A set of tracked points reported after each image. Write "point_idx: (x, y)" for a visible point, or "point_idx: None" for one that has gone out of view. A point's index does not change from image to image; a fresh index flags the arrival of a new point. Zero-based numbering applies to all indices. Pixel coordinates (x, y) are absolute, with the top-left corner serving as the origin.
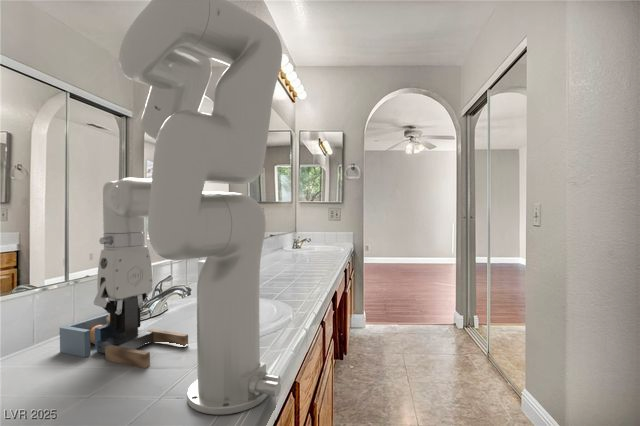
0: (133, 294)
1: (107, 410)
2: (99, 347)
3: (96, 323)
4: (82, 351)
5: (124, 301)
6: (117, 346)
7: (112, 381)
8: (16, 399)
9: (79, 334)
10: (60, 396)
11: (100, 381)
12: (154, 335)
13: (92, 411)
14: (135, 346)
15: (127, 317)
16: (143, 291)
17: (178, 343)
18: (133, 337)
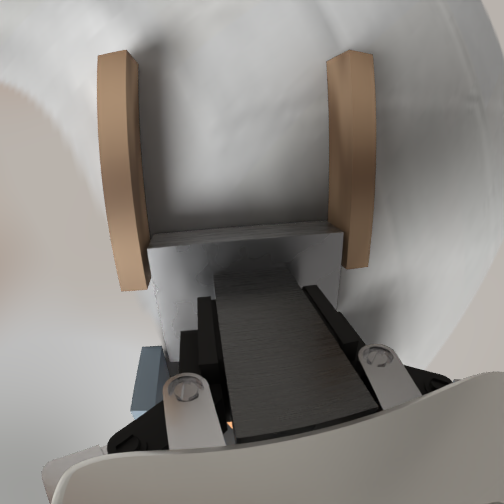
0: (366, 427)
1: (481, 31)
2: None
3: None
4: None
5: (375, 402)
6: (351, 229)
7: (431, 99)
8: (500, 228)
9: None
10: (489, 159)
11: (439, 131)
12: (142, 240)
13: (491, 55)
14: (252, 227)
15: (304, 328)
16: (213, 461)
17: (134, 90)
18: (246, 265)
